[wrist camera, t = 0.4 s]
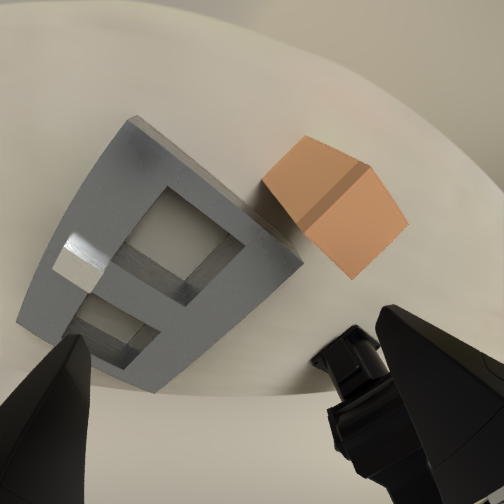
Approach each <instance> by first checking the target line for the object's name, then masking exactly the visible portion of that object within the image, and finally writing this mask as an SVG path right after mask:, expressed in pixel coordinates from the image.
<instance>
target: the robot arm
mask: <svg viewBox="0 0 504 504" xmlns="http://www.w3.org/2000/svg"><path fill="white" fill-rule="evenodd" d="M375 331H376V334H377V337H378V340H379V342H380V343H379V342H378V341H377V340H375V339H374V338H373V337H372V336H371V335H369V334H368V333H367V332H366V331H364V330H363V329H362V328H361V327H359V326H358V325H355V326H353V327H352V328H350V329H349V330H348V331H347V332H346V333H344V334H343V335H342V336H341V337H340V338H338V339H337V340H336V341H335V342H333V343H332V344H331V345H330V346H328V347H327V348H326V349H325V350H323V351H322V352H321V353H320V354H318V355H317V356H316V357H314V358H313V359H312V360H311V364H312V365H313V366H315V367H317V368H319V369H321V370H323V371H325V372H327V373H329V375H330V378H331V380H332V382H333V384H334V386H335V388H336V390H337V393H338V395H339V397H340V399H341V401H342V402H341V403H339V404H338V405H336V406H334V407H331V408H329V409H327V413H328V420H329V424H330V428H331V431H332V435H333V439H334V447H335V450H336V451H338V452H341V453H342V455H343V456H344V457H345V458H346V459H347V460H349V461H350V460H351V461H352V463H353V466H354V468H355V471H356V473H357V474H359V475H360V476H362V477H363V478H365V479H366V478H369V479H370V480H372V481H374V482H376V483H378V484H380V485H382V486H384V487H385V488H386V489H387V491H388V493H389V495H390V497H391V499H392V501H393V503H394V504H474V503H476V502H477V501H479V500H481V499H483V498H485V497H487V498H486V499H485V500H484V501H482V502H481V503H480V504H504V364H503V363H500V362H499V361H497V360H495V359H493V358H491V357H489V356H488V355H486V354H484V353H482V352H480V351H479V350H477V349H475V348H473V347H472V346H470V345H468V344H466V343H465V342H463V341H461V340H459V339H457V338H456V337H454V336H452V335H450V334H448V333H446V332H445V331H443V330H441V329H439V328H437V327H436V326H434V325H432V324H430V323H428V322H426V321H425V320H423V319H421V318H419V317H417V316H415V315H414V314H412V313H410V312H408V311H406V310H404V309H402V308H401V307H399V306H397V305H394V304H392V305H386V306H383V307H382V309H381V311H380V314H379V317H378V319H377V322H376V325H375ZM380 346H381V348H382V351H383V354H384V356H385V359H386V362H387V365H388V368H389V370H390V372H389V371H388V370H387V368H386V366H385V365H384V363H383V361H382V360H381V358H380V357H379V355H378V353H377V352H376V350H378V349H379V348H380ZM90 376H91V355H90V352H89V350H88V347H87V345H86V343H85V341H84V338H83V336H82V335H81V334H67V335H66V336H65V337H64V338H63V339H62V340H61V341H60V342H59V343H58V344H57V345H56V346H55V347H54V348H53V349H52V350H51V351H50V352H49V353H48V354H47V355H46V356H45V357H44V358H43V360H42V361H41V362H40V363H39V364H38V365H37V366H36V367H35V368H34V369H33V370H32V371H31V372H30V373H29V374H28V376H27V377H26V378H25V379H24V380H23V381H22V382H21V383H20V384H19V385H18V387H17V388H16V389H15V390H14V391H13V392H12V393H11V394H10V395H9V397H8V398H7V399H6V400H5V401H4V402H3V404H2V405H1V406H0V504H84V474H85V452H86V439H87V427H88V418H89V407H90Z"/></svg>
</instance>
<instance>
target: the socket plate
mask: <svg viewBox="0 0 504 504" xmlns="http://www.w3.org/2000/svg"><path fill="white" fill-rule="evenodd" d="M167 186H169V187H170V188H171V189H172V190H174V191H175V192H176V193H178V194H179V195H180V196H182V197H183V198H184V199H186V200H187V201H188V202H189V203H191V204H192V205H193V206H195V207H196V208H197V209H199V210H200V211H201V212H203V213H204V214H205V215H206V216H208V217H209V218H210V219H212V220H213V221H214V222H216V223H217V224H218V225H219V226H221V227H222V228H223V229H225V230H226V231H227V232H229V233H230V234H229V235H228V236H227V237H226V238H225V239H224V240H223V241H222V242H221V243H220V244H219V246H218V247H217V248H216V249H215V250H214V251H213V252H212V253H211V254H210V255H209V256H208V257H207V258H206V259H205V260H204V261H203V262H202V263H201V264H200V266H199V267H198V268H197V269H196V270H195V271H194V272H193V273H192V274H191V275H190V276H189V277H188V278H187V279H186V280H185V281H183V280H182V279H180V278H178V277H177V276H175V275H174V274H172V273H171V272H169V271H167V270H166V269H164V268H163V267H161V266H160V265H158V264H157V263H155V262H154V261H152V260H151V259H149V258H148V257H146V256H145V255H143V254H142V253H140V252H139V251H137V250H136V249H134V248H133V247H131V246H130V245H128V244H127V243H125V242H124V241H125V239H126V238H127V237H128V235H129V234H130V232H131V231H132V230H133V228H134V227H135V226H136V225H137V223H138V222H139V221H140V219H141V218H142V217H143V215H144V214H145V213H146V212H147V210H148V209H149V208H150V207H151V205H152V204H153V203H154V202H155V200H156V199H157V198H158V197H159V195H160V194H161V193H162V192H163V190H164V189H165V188H166V187H167ZM303 264H304V262H303V261H302V259H301V257H300V256H299V254H298V253H297V251H296V249H295V248H294V246H293V245H292V243H291V242H290V241H289V240H288V239H287V238H286V237H285V236H283V235H282V234H281V233H280V232H279V231H278V230H276V229H275V228H274V227H273V226H272V225H271V224H270V223H268V222H267V221H266V220H265V219H264V218H263V217H261V216H260V215H259V214H258V213H257V212H256V211H254V210H253V209H252V208H251V207H250V206H248V205H247V204H246V203H245V202H244V201H243V200H241V199H240V198H239V197H238V196H237V195H235V194H234V193H233V192H232V191H231V190H229V189H228V188H227V187H226V186H225V185H223V184H222V183H221V182H220V181H219V180H217V179H216V178H215V177H214V176H213V175H211V174H210V173H209V172H208V171H207V170H205V169H204V168H203V167H202V166H200V165H199V164H198V163H197V162H196V161H194V160H193V159H192V158H191V157H189V156H188V155H187V154H186V153H185V152H183V151H182V150H181V149H180V148H178V147H177V146H176V145H175V144H173V143H172V142H171V141H170V140H168V139H167V138H166V137H165V136H163V135H162V134H161V133H160V132H158V131H157V130H156V129H155V128H153V127H152V126H151V125H149V124H148V123H147V122H146V121H144V120H143V119H142V118H140V117H139V116H138V115H136V116H134V117H132V118H130V119H128V120H127V121H126V122H125V124H124V125H123V126H122V128H121V129H120V130H119V132H118V133H117V134H116V136H115V137H114V138H113V140H112V141H111V142H110V144H109V145H108V146H107V148H106V149H105V151H104V152H103V154H102V155H101V156H100V158H99V159H98V161H97V162H96V164H95V165H94V167H93V168H92V170H91V171H90V173H89V174H88V176H87V177H86V179H85V181H84V182H83V184H82V185H81V187H80V189H79V190H78V192H77V194H76V195H75V197H74V199H73V200H72V202H71V204H70V205H69V207H68V209H67V211H66V212H65V214H64V216H63V218H62V220H61V221H60V223H59V225H58V227H57V229H56V231H55V233H54V235H53V236H52V238H51V240H50V242H49V244H48V246H47V248H46V251H45V253H44V255H43V257H42V259H41V261H40V263H39V265H38V268H37V270H36V272H35V274H34V277H33V279H32V281H31V284H30V286H29V288H28V291H27V293H26V296H25V298H24V301H23V304H22V306H21V309H20V312H19V314H18V317H17V320H16V323H18V324H19V325H21V326H22V327H24V328H25V329H27V330H28V331H30V332H32V333H33V334H35V335H36V336H38V337H40V338H41V339H43V340H45V341H46V342H48V343H50V344H51V345H53V346H56V345H57V344H58V343H59V342H60V341H61V340H62V339H63V338H64V337H65V336H66V335H67V334H81V335H82V336H83V338H84V341H85V343H86V345H87V347H88V350H89V352H90V355H91V366H92V367H94V368H96V369H98V370H101V371H103V372H105V373H107V374H109V375H111V376H113V377H116V378H118V379H120V380H122V381H124V382H127V383H129V384H131V385H134V386H136V387H139V388H141V389H143V390H146V391H148V392H151V393H154V394H155V393H156V392H157V391H159V390H160V389H161V388H162V387H164V386H165V385H166V384H167V383H168V382H170V381H171V380H172V379H173V378H174V377H176V376H177V375H178V374H179V373H181V372H182V371H183V370H184V369H185V368H186V367H188V366H189V365H190V364H191V363H192V362H194V361H195V360H196V359H197V358H198V357H200V356H201V355H202V354H203V353H204V352H205V351H207V350H208V349H209V348H210V347H211V346H212V345H214V344H215V343H216V342H217V341H218V340H219V339H221V338H222V337H223V336H224V335H225V334H226V333H227V332H229V331H230V330H231V329H232V328H233V327H234V326H235V325H237V324H238V323H239V322H240V321H241V320H242V319H243V318H245V317H246V316H247V315H248V314H249V313H250V312H251V311H252V310H254V309H255V308H256V307H257V306H258V305H259V304H260V303H261V302H262V301H264V300H265V299H266V298H267V297H268V296H269V295H270V294H271V293H272V292H273V291H275V290H276V289H277V288H278V287H279V286H280V285H281V284H282V283H283V282H284V281H285V280H287V279H288V278H289V277H290V276H291V275H292V274H293V273H294V272H295V271H296V270H297V269H298V268H299V267H301V266H302V265H303ZM91 292H92V293H94V294H95V295H97V296H99V297H100V298H102V299H103V300H105V301H107V302H109V303H110V304H112V305H114V306H115V307H117V308H119V309H120V310H122V311H124V312H126V313H127V314H129V315H131V316H133V317H135V318H136V319H138V320H140V321H142V322H144V323H145V325H144V326H143V327H142V328H141V329H140V330H139V332H138V333H137V334H136V335H135V336H134V337H133V338H132V339H131V340H130V342H129V343H128V344H125V343H123V342H121V341H119V340H117V339H115V338H113V337H111V336H109V335H107V334H106V333H104V332H102V331H100V330H98V329H97V328H95V327H93V326H91V325H89V324H88V323H86V322H84V321H83V320H81V319H79V318H77V317H76V316H74V315H75V313H76V311H77V310H78V308H79V307H80V305H81V303H82V302H83V300H84V299H85V297H86V296H87V294H88V293H91Z"/></svg>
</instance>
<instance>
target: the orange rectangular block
mask: <svg viewBox="0 0 504 504" xmlns="http://www.w3.org/2000/svg"><path fill="white" fill-rule="evenodd" d="M262 181H263V182H264V183H265V184H266V186H267V187H268V188H269V190H270V191H271V192H272V193H273V195H274V196H275V197H276V199H277V200H278V201H279V202H280V204H281V205H282V206H283V208H284V209H285V210H286V211H287V213H288V214H289V215H290V217H291V218H292V219H293V221H294V222H295V223H296V225H297V226H298V227H299V229H300V230H301V231H302V233H303V234H304V235H305V236H306V237H307V238H309V239H310V240H311V241H312V242H313V243H314V244H315V245H316V246H317V247H318V248H319V249H320V250H321V251H322V252H323V253H324V254H325V255H327V256H328V257H329V258H330V259H331V260H332V261H333V262H334V263H335V264H336V265H337V266H338V267H339V268H340V269H341V270H342V271H343V272H344V273H345V274H346V275H347V276H348V277H349V278H350V279H351V280H353V279H354V278H355V277H356V276H357V275H358V274H359V273H360V272H361V271H362V270H363V269H364V268H365V267H367V266H368V265H369V264H370V263H371V262H372V261H373V260H374V259H375V258H376V257H377V256H378V255H379V254H380V253H381V252H382V251H383V250H384V249H385V248H386V247H387V246H388V245H389V244H390V243H391V242H392V241H393V240H394V239H395V238H396V237H397V236H398V235H399V234H400V233H401V232H402V231H403V230H404V229H405V228H406V227H407V226H408V225H409V223H408V222H407V220H406V218H405V217H404V215H403V214H402V212H401V210H400V209H399V207H398V206H397V204H396V203H395V201H394V200H393V198H392V197H391V195H390V193H389V192H388V190H387V189H386V188H385V186H384V185H383V183H382V182H381V180H380V179H379V177H378V176H377V174H376V173H375V172H374V170H373V169H372V167H371V166H369V165H367V164H365V163H363V162H361V161H359V160H357V159H355V158H353V157H351V156H349V155H347V154H345V153H343V152H341V151H339V150H337V149H335V148H332V147H330V146H328V145H326V144H324V143H322V142H319V141H317V140H315V139H313V138H310V137H308V136H306V135H305V136H304V137H303V138H302V139H301V140H300V141H299V142H298V143H297V144H296V145H295V146H294V147H293V148H292V149H291V150H290V151H289V152H288V153H287V154H286V155H285V156H284V157H283V158H282V159H281V160H280V161H279V162H278V163H277V164H276V165H275V166H274V167H273V168H272V169H271V170H270V171H269V172H268V173H267V174H266V175H265V176H264V177H263V178H262Z"/></svg>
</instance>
